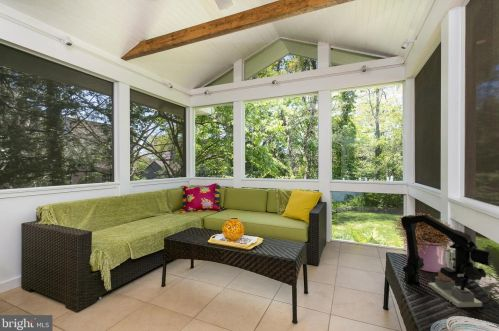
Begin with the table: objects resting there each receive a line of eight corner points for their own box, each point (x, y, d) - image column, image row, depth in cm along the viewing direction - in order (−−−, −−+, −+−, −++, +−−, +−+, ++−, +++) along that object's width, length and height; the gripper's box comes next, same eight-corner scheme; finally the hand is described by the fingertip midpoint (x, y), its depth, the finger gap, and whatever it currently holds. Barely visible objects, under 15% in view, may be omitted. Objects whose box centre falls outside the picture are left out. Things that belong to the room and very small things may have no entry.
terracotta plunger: (444, 282, 128) (444, 273, 128) (438, 278, 132) (438, 270, 132) (451, 282, 128) (451, 273, 128) (445, 278, 132) (445, 269, 132)
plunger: (462, 300, 118) (462, 290, 117) (455, 295, 122) (455, 286, 121) (470, 300, 118) (470, 290, 117) (462, 295, 122) (462, 286, 121)
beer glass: (463, 278, 142) (463, 254, 142) (449, 277, 143) (449, 253, 143) (455, 272, 149) (455, 249, 148) (442, 272, 150) (442, 249, 150)
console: (457, 307, 116) (457, 295, 115) (428, 286, 135) (428, 275, 134) (482, 306, 116) (482, 294, 115) (449, 285, 135) (449, 275, 134)
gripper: (458, 266, 111) (458, 298, 111) (497, 265, 111) (497, 297, 111) (439, 256, 122) (439, 285, 123) (474, 255, 122) (474, 284, 123)
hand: (462, 288), depth 119 cm, fingers closed, pressing on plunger
